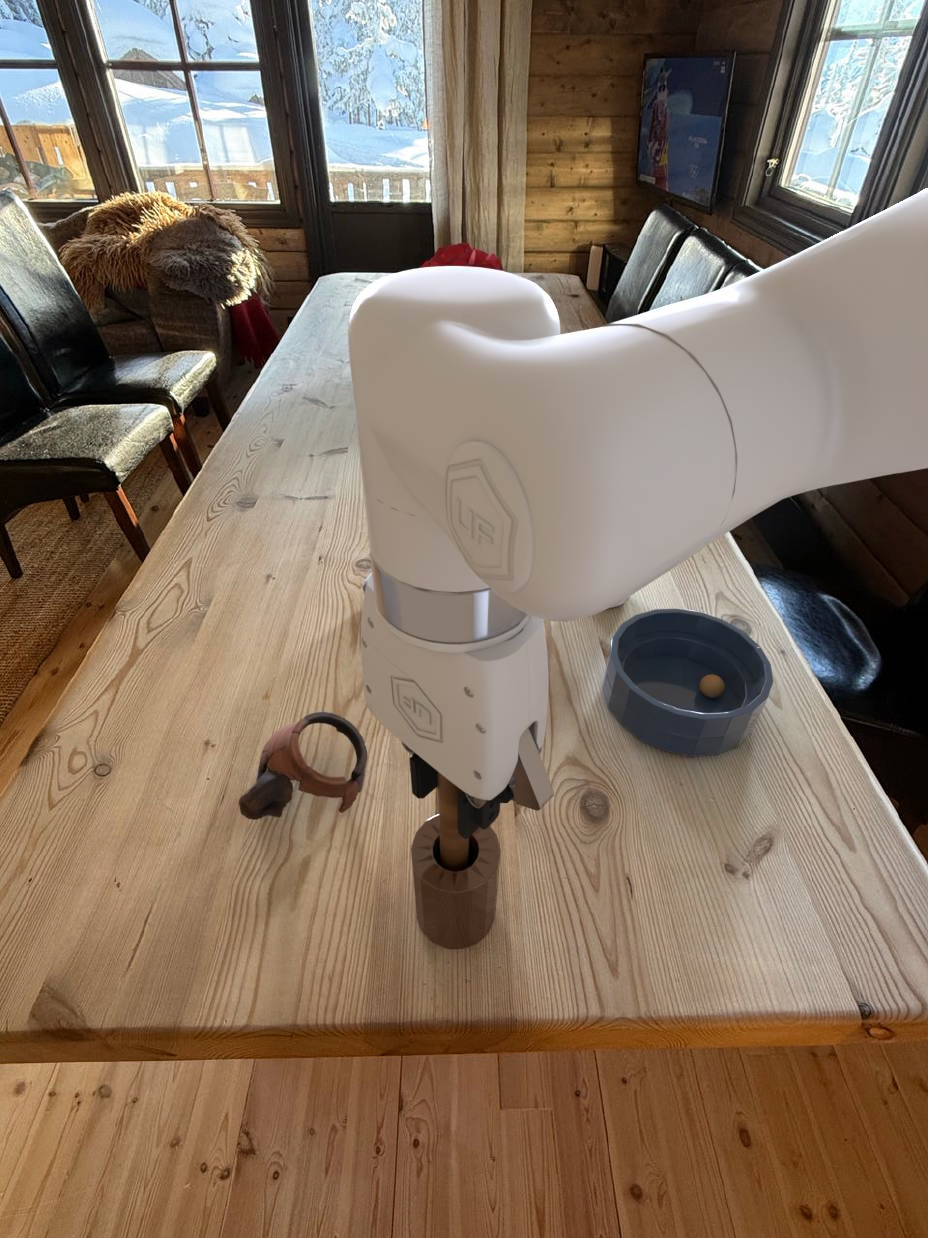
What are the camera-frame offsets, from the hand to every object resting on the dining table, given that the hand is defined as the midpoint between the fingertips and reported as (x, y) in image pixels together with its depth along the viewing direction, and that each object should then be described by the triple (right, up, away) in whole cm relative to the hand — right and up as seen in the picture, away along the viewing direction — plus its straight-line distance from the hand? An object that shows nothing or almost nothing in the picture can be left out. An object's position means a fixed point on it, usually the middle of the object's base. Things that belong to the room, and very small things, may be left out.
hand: (455, 800), depth 42 cm
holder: (0, -11, +10) cm, 15 cm away
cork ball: (+26, +5, +26) cm, 37 cm away
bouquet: (0, +63, +96) cm, 115 cm away
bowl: (+23, +3, +27) cm, 35 cm away
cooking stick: (0, -11, +9) cm, 14 cm away
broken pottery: (-14, -4, +18) cm, 23 cm away
